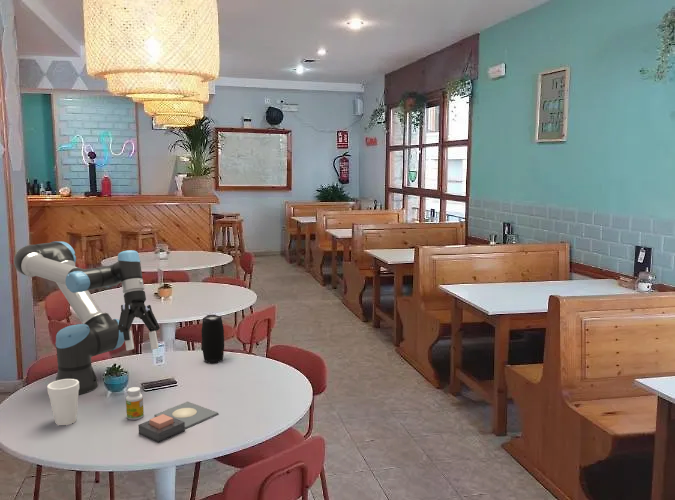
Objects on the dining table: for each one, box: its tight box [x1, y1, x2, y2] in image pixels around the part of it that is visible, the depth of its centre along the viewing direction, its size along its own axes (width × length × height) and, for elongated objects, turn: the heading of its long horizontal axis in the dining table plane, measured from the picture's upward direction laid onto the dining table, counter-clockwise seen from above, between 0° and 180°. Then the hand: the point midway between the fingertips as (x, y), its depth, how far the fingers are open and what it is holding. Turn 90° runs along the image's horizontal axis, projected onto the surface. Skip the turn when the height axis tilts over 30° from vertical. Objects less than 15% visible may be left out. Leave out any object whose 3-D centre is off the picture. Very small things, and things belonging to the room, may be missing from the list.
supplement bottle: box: [125, 386, 145, 421], centre depth 202 cm, size 5×5×10 cm
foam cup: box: [46, 379, 79, 426], centre depth 198 cm, size 10×9×13 cm
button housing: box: [137, 414, 186, 444], centre depth 191 cm, size 10×10×3 cm
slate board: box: [154, 401, 219, 430], centre depth 204 cm, size 16×14×1 cm
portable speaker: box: [200, 314, 225, 365], centre depth 257 cm, size 9×9×20 cm
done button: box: [148, 414, 174, 429], centre depth 191 cm, size 5×5×2 cm
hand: (143, 349), depth 217 cm, fingers open, 13 cm apart
